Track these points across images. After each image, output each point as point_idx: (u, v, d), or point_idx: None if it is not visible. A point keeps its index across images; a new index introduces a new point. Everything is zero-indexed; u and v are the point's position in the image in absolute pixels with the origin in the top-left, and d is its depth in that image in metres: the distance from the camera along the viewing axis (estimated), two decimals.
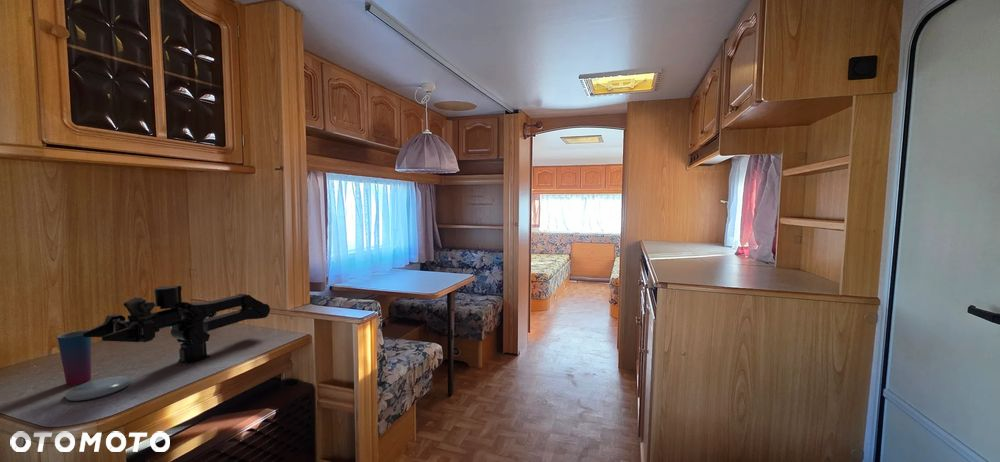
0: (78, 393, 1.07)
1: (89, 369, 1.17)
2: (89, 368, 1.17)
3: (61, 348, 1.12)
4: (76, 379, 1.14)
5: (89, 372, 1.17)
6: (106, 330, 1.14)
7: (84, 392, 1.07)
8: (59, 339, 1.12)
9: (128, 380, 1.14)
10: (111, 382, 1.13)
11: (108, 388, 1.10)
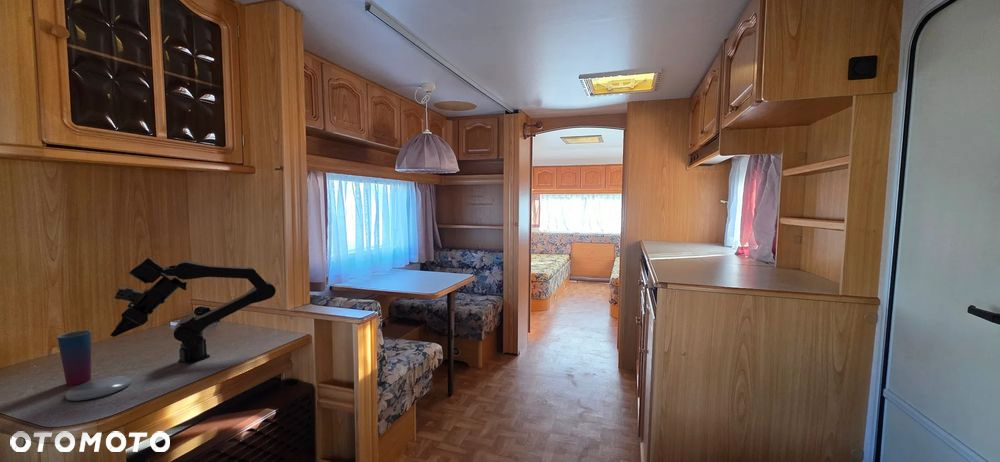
0: (78, 393, 1.07)
1: (89, 369, 1.17)
2: (89, 369, 1.17)
3: (61, 348, 1.12)
4: (76, 379, 1.14)
5: (89, 372, 1.17)
6: None
7: (84, 392, 1.07)
8: (59, 339, 1.12)
9: (128, 380, 1.14)
10: (111, 382, 1.13)
11: (108, 388, 1.10)
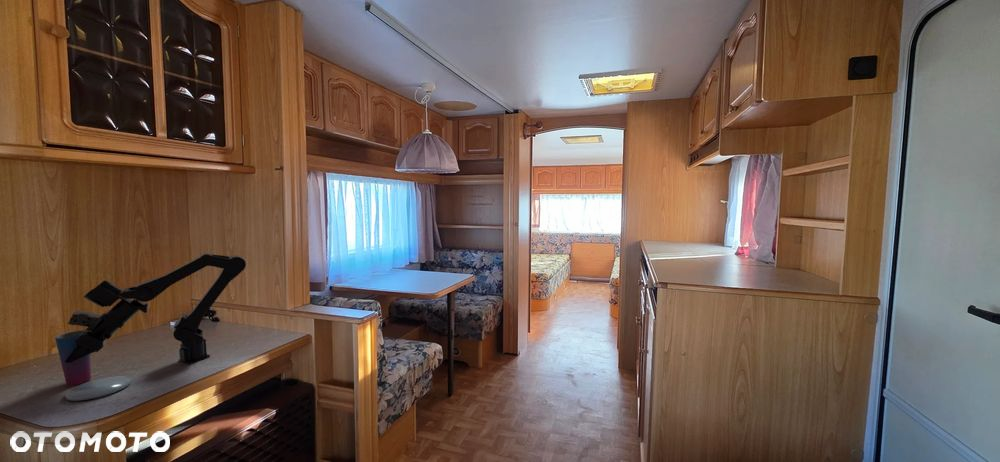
0: (78, 393, 1.07)
1: (88, 369, 1.17)
2: (89, 368, 1.17)
3: (59, 349, 1.12)
4: (76, 379, 1.14)
5: (89, 372, 1.17)
6: None
7: (84, 392, 1.07)
8: (57, 340, 1.11)
9: (128, 380, 1.14)
10: (111, 382, 1.13)
11: (108, 388, 1.10)
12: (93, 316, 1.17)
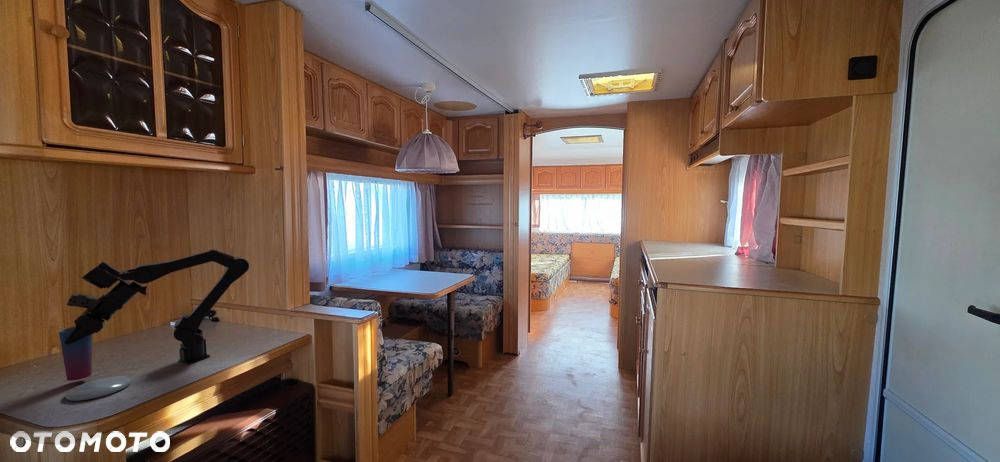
0: (78, 393, 1.07)
1: (90, 364, 1.17)
2: (90, 364, 1.17)
3: (62, 343, 1.12)
4: (77, 374, 1.14)
5: (90, 367, 1.17)
6: None
7: (84, 392, 1.07)
8: (60, 333, 1.12)
9: (128, 380, 1.14)
10: (111, 382, 1.13)
11: (108, 388, 1.10)
12: (92, 298, 1.16)
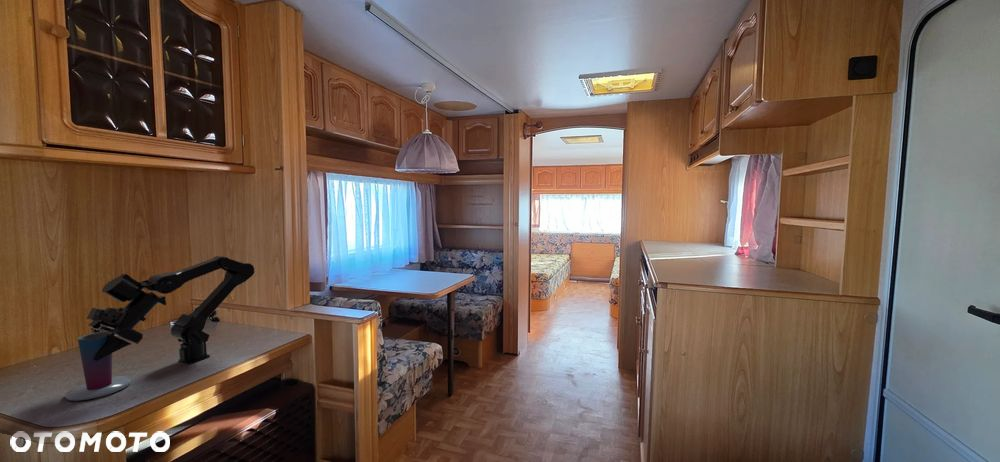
0: (78, 393, 1.07)
1: (111, 371, 1.13)
2: (111, 370, 1.13)
3: (87, 351, 1.07)
4: (103, 382, 1.10)
5: (111, 374, 1.13)
6: None
7: (84, 392, 1.07)
8: (85, 341, 1.07)
9: (128, 380, 1.14)
10: None
11: (108, 388, 1.10)
12: None
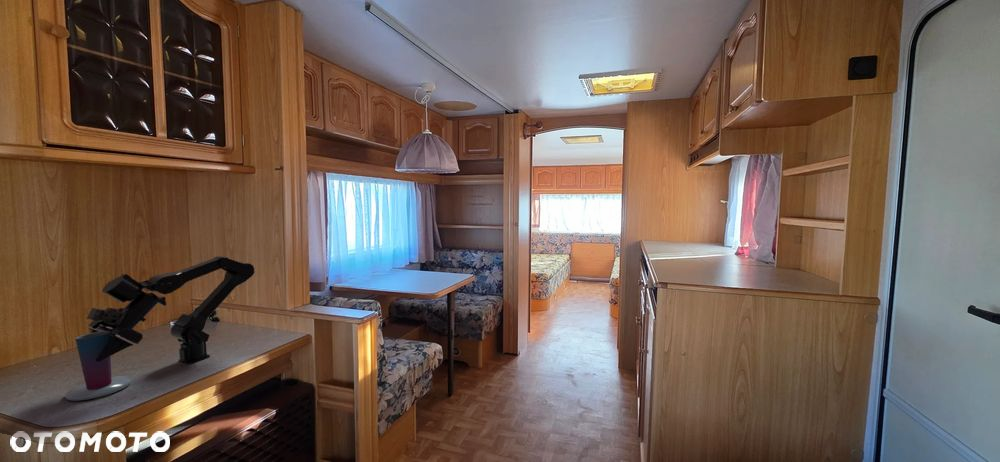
0: (78, 393, 1.07)
1: None
2: None
3: (85, 349, 1.07)
4: (103, 380, 1.10)
5: None
6: None
7: (84, 392, 1.07)
8: (83, 340, 1.07)
9: (128, 380, 1.14)
10: None
11: (108, 388, 1.10)
12: None
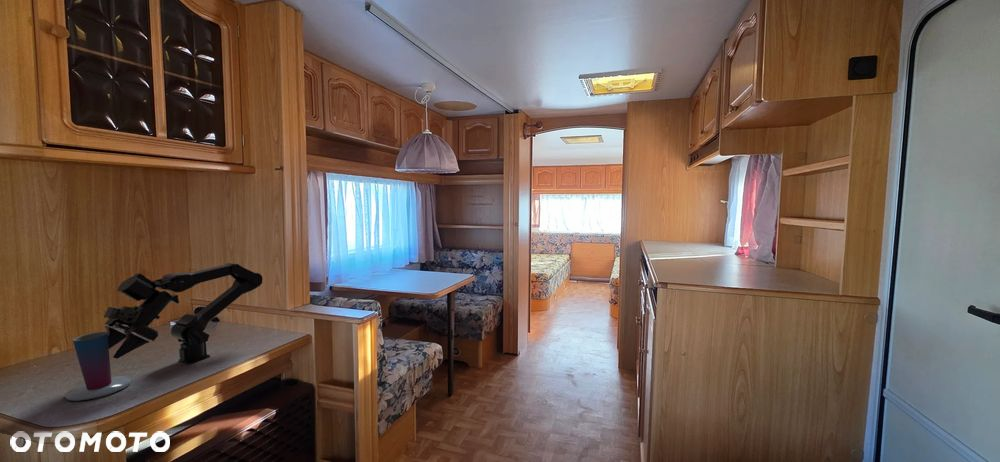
0: (78, 393, 1.07)
1: (110, 370, 1.13)
2: (110, 370, 1.13)
3: (83, 351, 1.06)
4: (102, 381, 1.10)
5: (110, 373, 1.13)
6: (115, 337, 1.17)
7: (84, 392, 1.07)
8: (81, 342, 1.06)
9: (128, 380, 1.14)
10: (111, 382, 1.13)
11: (108, 388, 1.10)
12: None
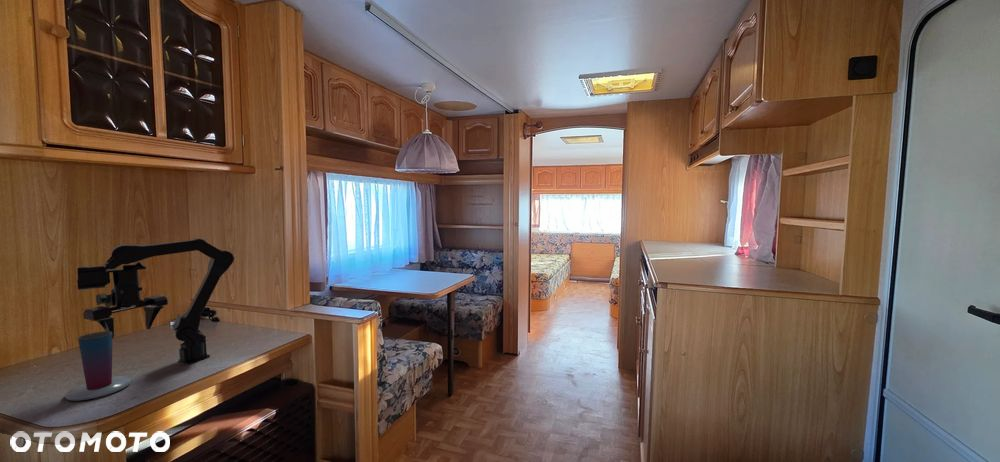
0: (78, 393, 1.07)
1: (111, 371, 1.13)
2: (111, 370, 1.13)
3: (88, 350, 1.07)
4: (103, 381, 1.10)
5: (111, 374, 1.13)
6: (148, 313, 1.25)
7: (84, 392, 1.07)
8: (86, 340, 1.07)
9: (128, 380, 1.14)
10: None
11: (108, 388, 1.10)
12: None
